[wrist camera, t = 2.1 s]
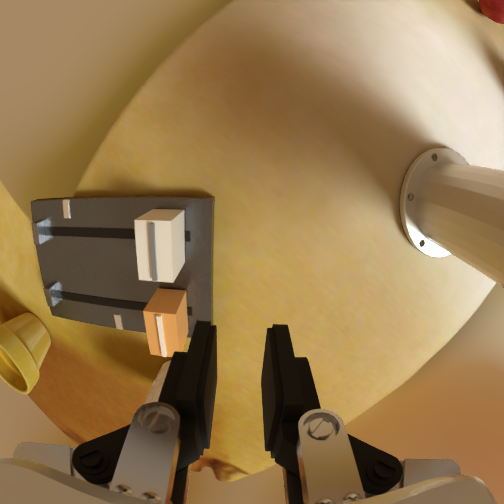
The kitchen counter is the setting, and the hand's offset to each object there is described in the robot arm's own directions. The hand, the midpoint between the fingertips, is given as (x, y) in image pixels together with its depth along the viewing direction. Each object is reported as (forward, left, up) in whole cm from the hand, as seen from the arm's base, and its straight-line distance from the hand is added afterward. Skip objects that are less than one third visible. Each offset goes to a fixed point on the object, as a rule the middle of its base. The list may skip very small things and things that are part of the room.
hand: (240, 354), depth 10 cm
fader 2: (+7, +8, -15) cm, 19 cm away
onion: (-34, -39, -17) cm, 55 cm away
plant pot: (+32, +17, -17) cm, 40 cm away
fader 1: (+7, 0, -15) cm, 17 cm away
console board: (+14, +4, -17) cm, 22 cm away
